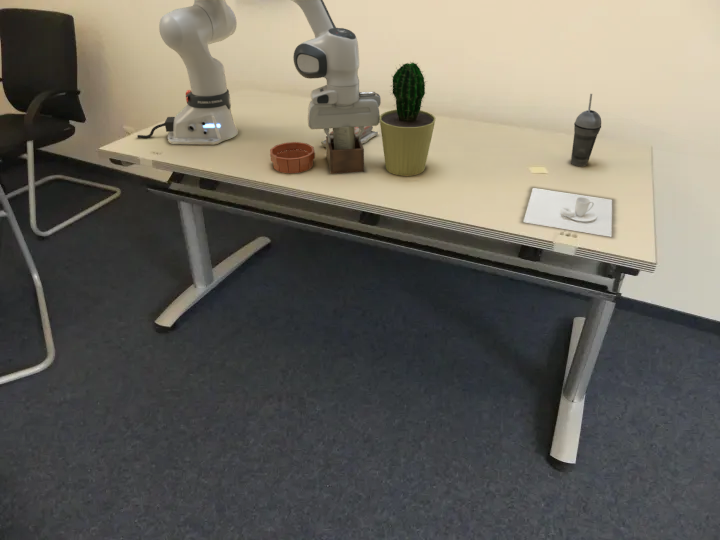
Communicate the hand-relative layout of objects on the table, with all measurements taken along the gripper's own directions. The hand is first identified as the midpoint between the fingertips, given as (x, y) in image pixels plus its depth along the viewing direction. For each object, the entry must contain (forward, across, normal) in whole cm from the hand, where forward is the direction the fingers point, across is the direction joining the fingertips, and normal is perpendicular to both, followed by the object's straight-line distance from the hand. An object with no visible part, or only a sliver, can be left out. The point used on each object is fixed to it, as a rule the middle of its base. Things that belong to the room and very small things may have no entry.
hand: (344, 141), depth 160 cm
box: (+6, 0, 0) cm, 6 cm away
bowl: (+7, +15, -2) cm, 17 cm away
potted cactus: (+7, -17, +5) cm, 19 cm away
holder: (+7, 0, 0) cm, 7 cm away
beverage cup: (+7, -68, +10) cm, 69 cm away
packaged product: (+7, -4, -18) cm, 20 cm away
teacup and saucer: (+7, -52, +37) cm, 64 cm away
